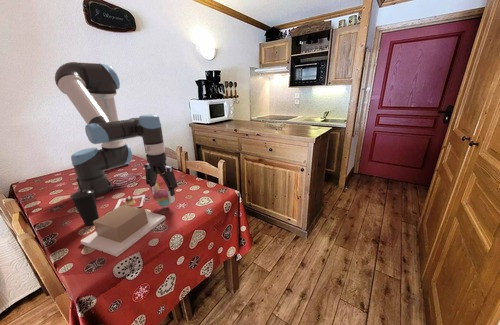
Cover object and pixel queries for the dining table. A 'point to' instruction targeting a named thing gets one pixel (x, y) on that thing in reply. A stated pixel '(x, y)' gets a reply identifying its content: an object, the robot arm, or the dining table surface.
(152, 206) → the dining table surface
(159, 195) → the cupcake
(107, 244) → the plinth
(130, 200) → the white square frame
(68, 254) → the dining table surface
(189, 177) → the dining table surface
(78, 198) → the drinking cup
